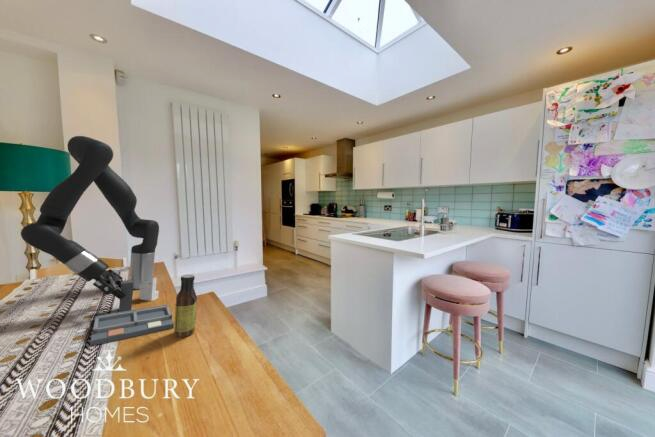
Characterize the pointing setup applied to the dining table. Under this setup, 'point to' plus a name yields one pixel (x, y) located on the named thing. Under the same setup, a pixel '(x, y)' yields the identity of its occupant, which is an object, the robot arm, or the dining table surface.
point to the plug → (127, 300)
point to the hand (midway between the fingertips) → (125, 293)
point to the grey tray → (130, 324)
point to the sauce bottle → (185, 307)
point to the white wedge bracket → (148, 290)
